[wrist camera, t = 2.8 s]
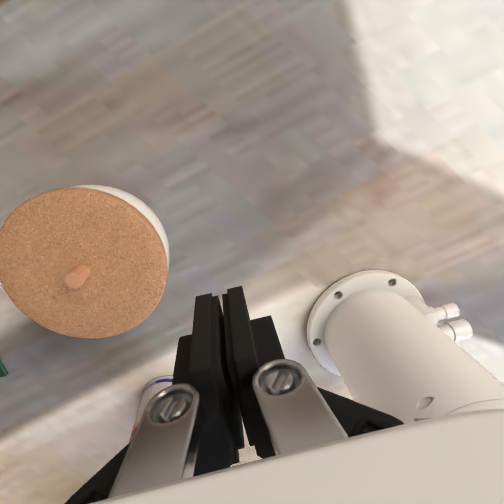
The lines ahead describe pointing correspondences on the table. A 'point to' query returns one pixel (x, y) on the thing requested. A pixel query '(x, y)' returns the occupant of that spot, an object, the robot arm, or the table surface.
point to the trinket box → (84, 260)
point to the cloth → (2, 370)
